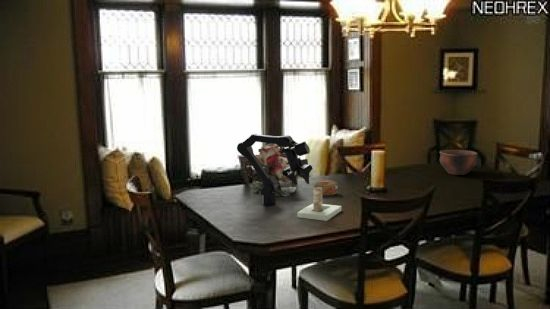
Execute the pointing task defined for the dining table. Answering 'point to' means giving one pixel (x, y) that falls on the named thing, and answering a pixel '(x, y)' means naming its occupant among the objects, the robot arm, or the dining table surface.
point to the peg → (317, 199)
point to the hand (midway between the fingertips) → (302, 184)
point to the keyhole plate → (324, 215)
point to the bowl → (458, 161)
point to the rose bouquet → (273, 169)
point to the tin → (328, 187)
